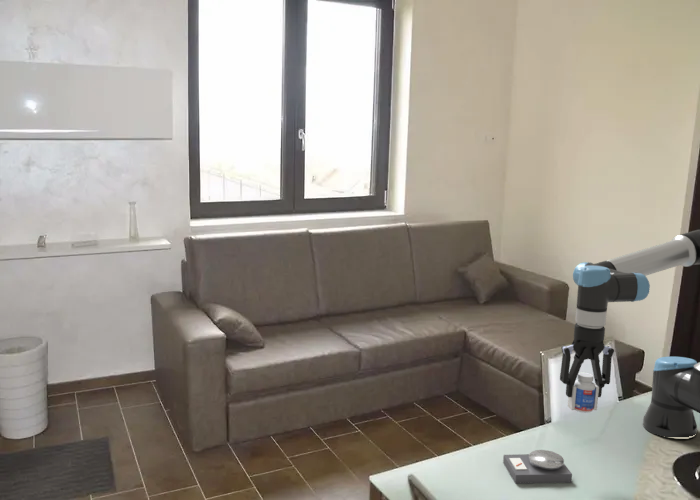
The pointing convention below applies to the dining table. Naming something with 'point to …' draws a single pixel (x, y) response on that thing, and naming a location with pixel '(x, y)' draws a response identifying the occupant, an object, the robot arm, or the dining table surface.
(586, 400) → the pill bottle
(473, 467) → the dining table surface
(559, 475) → the scale base
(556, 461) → the pan
